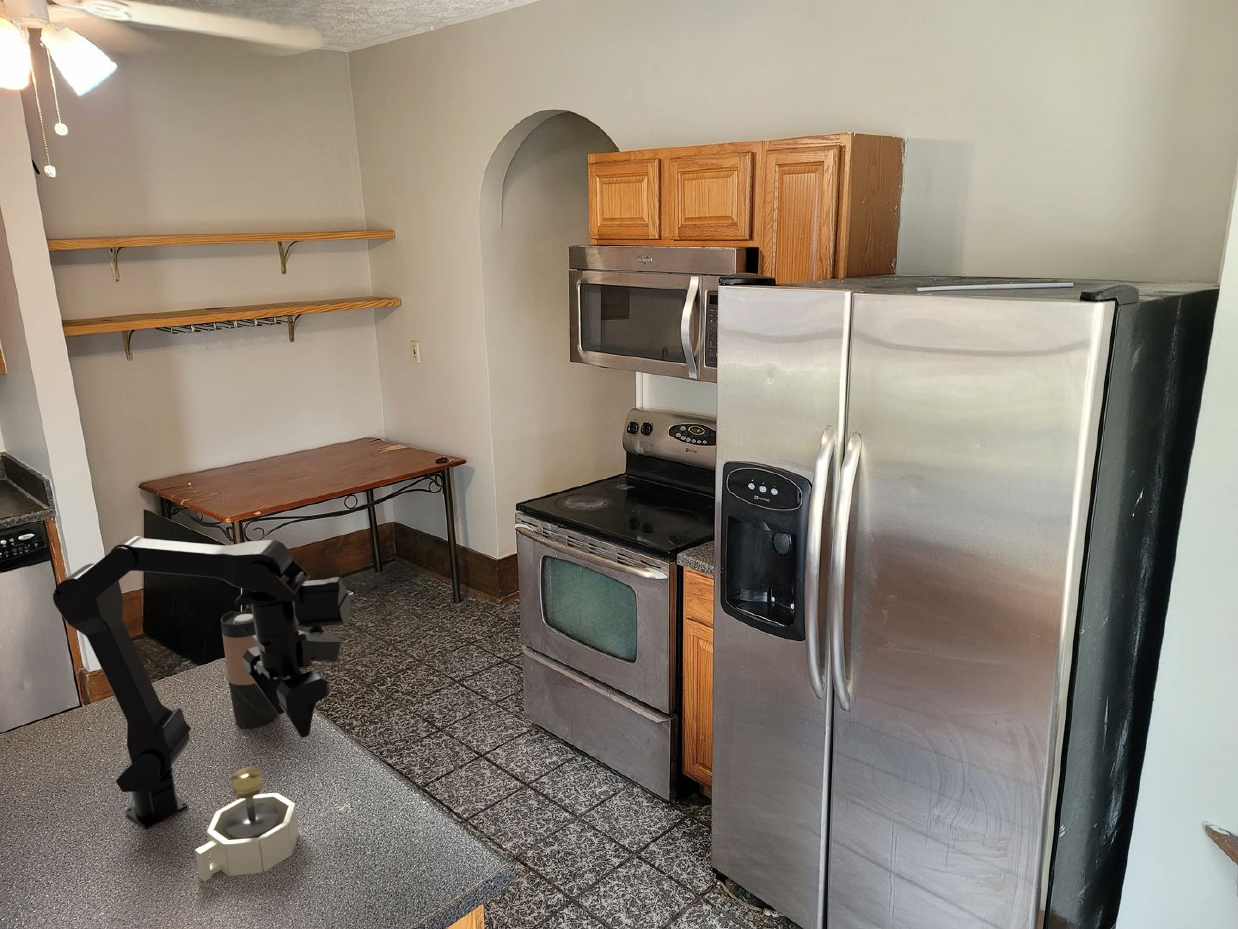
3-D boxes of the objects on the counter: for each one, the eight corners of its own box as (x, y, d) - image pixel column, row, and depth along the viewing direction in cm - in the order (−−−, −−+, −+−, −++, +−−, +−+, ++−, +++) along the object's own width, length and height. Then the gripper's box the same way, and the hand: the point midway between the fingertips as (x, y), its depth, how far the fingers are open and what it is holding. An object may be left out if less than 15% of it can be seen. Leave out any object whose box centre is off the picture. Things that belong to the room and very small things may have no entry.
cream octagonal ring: (181, 864, 123) (176, 833, 122) (268, 814, 133) (264, 785, 132) (223, 897, 117) (218, 865, 115) (311, 842, 127) (308, 812, 126)
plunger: (215, 827, 124) (208, 778, 122) (261, 802, 130) (255, 755, 128) (243, 847, 120) (236, 796, 118) (289, 820, 126) (283, 771, 124)
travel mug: (263, 731, 156) (250, 626, 151) (224, 727, 157) (210, 623, 152) (288, 709, 163) (276, 608, 158) (250, 705, 165) (237, 605, 159)
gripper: (357, 629, 126) (371, 727, 130) (306, 594, 140) (320, 683, 144) (279, 656, 120) (296, 758, 124) (233, 616, 133) (250, 709, 137)
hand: (293, 724), depth 132 cm, fingers open, 9 cm apart
